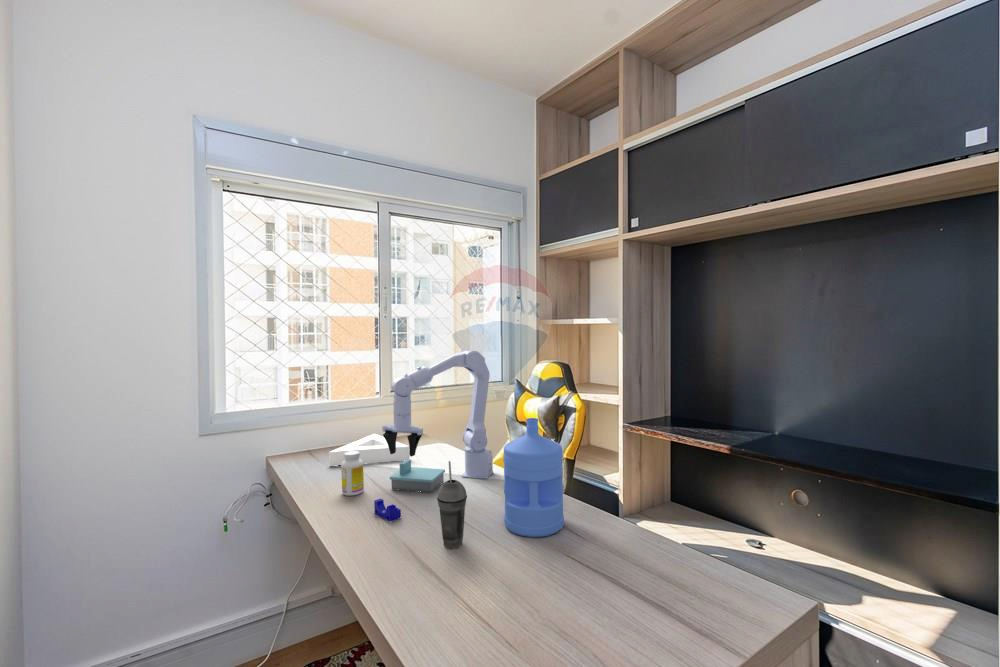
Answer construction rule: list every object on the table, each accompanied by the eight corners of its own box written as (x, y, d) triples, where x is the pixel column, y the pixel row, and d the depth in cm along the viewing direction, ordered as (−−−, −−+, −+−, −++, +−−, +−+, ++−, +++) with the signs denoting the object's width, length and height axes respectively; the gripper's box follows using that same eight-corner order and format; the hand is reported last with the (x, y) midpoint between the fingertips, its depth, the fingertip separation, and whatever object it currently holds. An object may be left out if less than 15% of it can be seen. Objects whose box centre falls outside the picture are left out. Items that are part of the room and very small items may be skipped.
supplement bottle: (367, 489, 149) (366, 450, 149) (358, 496, 143) (357, 455, 143) (347, 488, 150) (346, 449, 150) (338, 496, 143) (337, 455, 143)
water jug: (505, 512, 129) (503, 413, 128) (561, 512, 128) (560, 413, 127) (502, 538, 113) (500, 426, 113) (566, 539, 112) (564, 425, 112)
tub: (443, 482, 154) (443, 472, 154) (431, 493, 145) (431, 482, 145) (405, 479, 158) (405, 469, 158) (391, 489, 148) (391, 479, 148)
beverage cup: (444, 554, 106) (442, 469, 105) (433, 541, 112) (431, 460, 112) (473, 547, 109) (471, 464, 109) (461, 534, 116) (459, 456, 115)
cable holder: (400, 518, 127) (400, 504, 127) (389, 522, 124) (389, 508, 124) (385, 510, 132) (385, 496, 132) (374, 514, 130) (374, 500, 130)
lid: (445, 474, 154) (444, 459, 154) (431, 485, 144) (431, 469, 144) (405, 471, 158) (404, 456, 158) (389, 482, 148) (389, 466, 148)
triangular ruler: (329, 468, 174) (329, 451, 174) (339, 450, 199) (338, 435, 199) (409, 462, 180) (409, 446, 180) (409, 445, 205) (408, 431, 205)
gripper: (376, 414, 150) (377, 455, 151) (414, 417, 145) (415, 460, 145) (389, 410, 157) (389, 450, 157) (426, 413, 152) (426, 454, 152)
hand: (402, 454), depth 152 cm, fingers open, 7 cm apart
